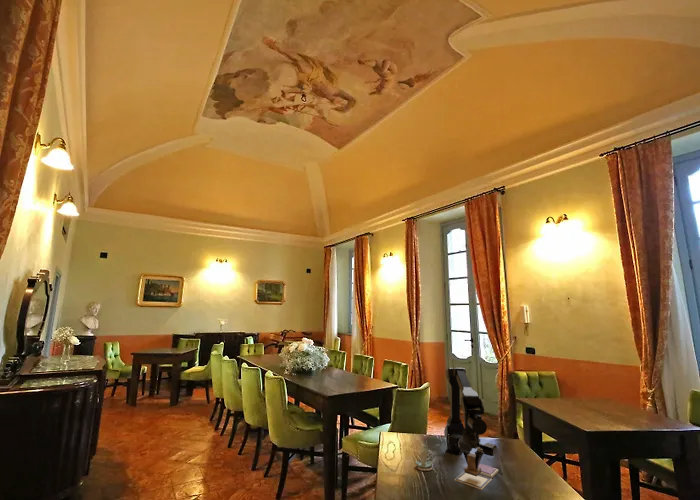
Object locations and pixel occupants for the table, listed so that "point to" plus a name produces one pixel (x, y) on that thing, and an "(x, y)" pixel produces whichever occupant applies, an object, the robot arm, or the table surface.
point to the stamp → (472, 465)
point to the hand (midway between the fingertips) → (472, 466)
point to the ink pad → (487, 470)
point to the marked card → (473, 480)
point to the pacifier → (424, 462)
